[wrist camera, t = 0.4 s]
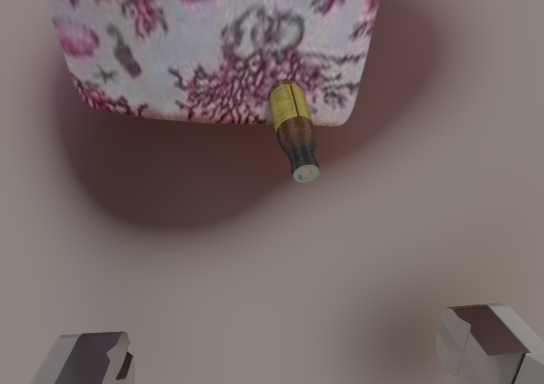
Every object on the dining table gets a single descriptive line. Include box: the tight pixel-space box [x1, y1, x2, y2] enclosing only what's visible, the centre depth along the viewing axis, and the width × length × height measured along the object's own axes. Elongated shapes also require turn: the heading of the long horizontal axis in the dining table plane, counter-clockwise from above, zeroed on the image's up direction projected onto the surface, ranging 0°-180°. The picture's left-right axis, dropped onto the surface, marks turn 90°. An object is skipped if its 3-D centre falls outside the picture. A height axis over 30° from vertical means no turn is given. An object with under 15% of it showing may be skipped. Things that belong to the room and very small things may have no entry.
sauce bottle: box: [269, 80, 320, 183], centre depth 58 cm, size 7×6×20 cm
